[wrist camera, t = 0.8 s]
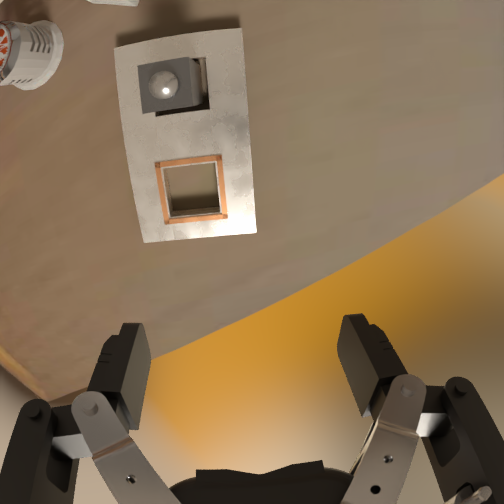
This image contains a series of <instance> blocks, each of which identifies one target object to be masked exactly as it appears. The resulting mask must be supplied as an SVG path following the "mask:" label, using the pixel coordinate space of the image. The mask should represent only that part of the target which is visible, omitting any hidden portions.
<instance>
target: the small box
mask: <svg viewBox="0 0 504 504" xmlns="http://www.w3.org/2000/svg"><path fill="white" fill-rule="evenodd" d="M87 1H89V2H91V3H99V4H114V5H126V6H137V5H138V3H139V0H87Z"/></svg>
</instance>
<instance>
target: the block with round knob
mask: <svg viewBox="0 0 504 504" xmlns="http://www.w3.org/2000/svg"><path fill="white" fill-rule="evenodd" d="M137 67H138V78H139V88H140V97H141V106H142V114H146V113H151V112H157V111H164V110H170V109H177V108H184V107H192V106H195V105H198V104H201V103H204V102H203V90H202V79H201V67H200V65H199V64H197V63H196V62H195V61H194V60H192V59H191V58H190V57H182V58H176V59H170V60H164V61H158V62H153V63H148V64H143V65H138V66H137Z"/></svg>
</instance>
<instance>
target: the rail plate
mask: <svg viewBox="0 0 504 504" xmlns="http://www.w3.org/2000/svg"><path fill="white" fill-rule="evenodd" d="M114 55H115V67H116V78H117V88H118V97H119V106H120V114H121V121H122V128H123V135H124V142H125V148H126V155H127V161H128V166H129V172H130V178H131V183H132V189H133V194H134V199H135V204H136V209H137V213H138V218H139V223H140V227H141V232H142V236H143V241H144V243H148V242H158V241H169V240H179V239H190V238H200V237H211V236H223V235H234V234H245V233H256V220H255V205H254V190H253V176H252V161H251V147H250V132H249V118H248V104H247V90H246V77H245V63H244V49H243V36H242V28H235V29H222V30H212V31H203V32H195V33H188V34H181V35H175V36H169V37H163V38H158V39H152V40H147V41H143V42H138V43H134V44H129V45H125V46H121V47H117V48H114ZM182 57H190V58H191V59H192V60H199V59H206V68H207V80H208V92H209V103H210V109H203V110H194V111H187V112H179V113H172V114H166V115H159V111H157V112H151V113H146V114H142V106H141V97H140V88H139V78H138V67H137V66H138V65H143V64H148V63H153V62H158V61H164V60H170V59H176V58H182ZM214 162H215V165H216V175H217V185H218V194H219V203H220V207H209V208H199V209H189V210H180V211H173V207H172V201H171V195H170V188H169V182H168V175H167V169H166V168H171V167H178V166H187V165H195V164H204V163H214Z"/></svg>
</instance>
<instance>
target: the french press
mask: <svg viewBox="0 0 504 504" xmlns="http://www.w3.org/2000/svg"><path fill="white" fill-rule="evenodd" d="M8 22H12V23H10V24H8V25H6V23H8ZM14 23H15V24H16V25H14V26H11V25H12V24H14ZM22 24H24V25H22ZM24 26H26V27H24ZM12 40H14V41H13V43H12ZM63 46H64V42H63V37H62V32H61V30H60V29H59V28H58V27H57V25H56V24H55V23H53V22H50V21H47V20H42V21H37V22H33V23H32V24H26V23H20V22H15V21H1V22H0V73H1V72H3V76H4V77H5V79H3V78H2V77H1V74H0V80H1V81H2V82H0V86H2V85H10V84H14V86H16V87H18V88H20V89H22V90H32V89H36V88H37V87H39V86H41V85H43V84H44V83H46V82H47V81H48V79H49V78H50V77H51V76H52V75H53V74H54V73H55V71H56V69H57V67H58V65H59V63H60V61H61V59H62V53H63ZM10 82H12V83H10ZM9 83H10V84H9Z"/></svg>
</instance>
